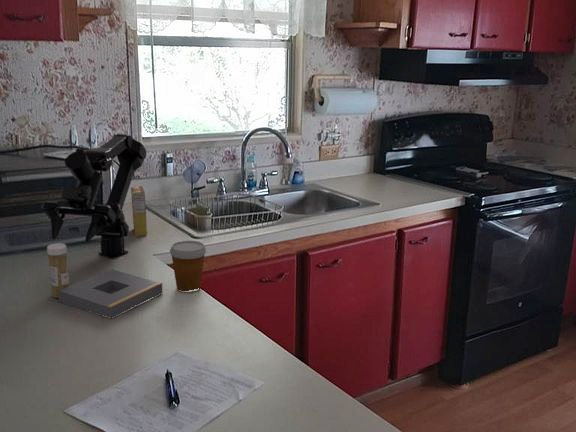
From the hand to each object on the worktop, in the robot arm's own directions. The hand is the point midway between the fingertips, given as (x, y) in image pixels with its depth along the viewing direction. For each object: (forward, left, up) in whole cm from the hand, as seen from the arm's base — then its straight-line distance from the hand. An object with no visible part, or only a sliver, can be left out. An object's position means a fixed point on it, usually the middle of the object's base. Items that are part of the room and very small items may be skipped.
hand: (69, 240), depth 159 cm
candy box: (-45, -19, -13) cm, 50 cm away
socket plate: (0, +14, -13) cm, 19 cm away
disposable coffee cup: (-16, +26, -13) cm, 33 cm away
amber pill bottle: (+6, +2, -13) cm, 15 cm away
